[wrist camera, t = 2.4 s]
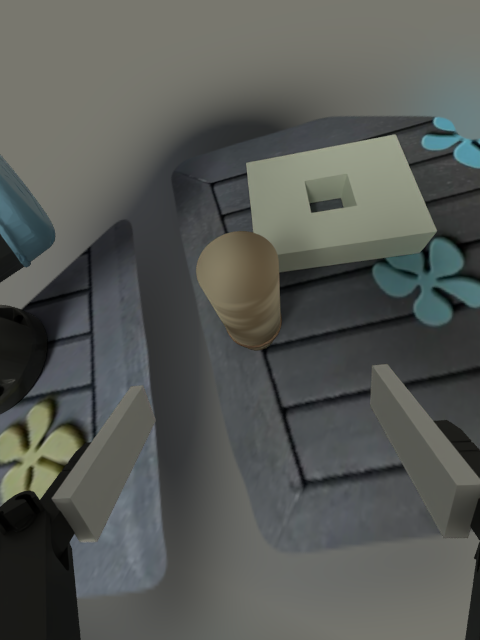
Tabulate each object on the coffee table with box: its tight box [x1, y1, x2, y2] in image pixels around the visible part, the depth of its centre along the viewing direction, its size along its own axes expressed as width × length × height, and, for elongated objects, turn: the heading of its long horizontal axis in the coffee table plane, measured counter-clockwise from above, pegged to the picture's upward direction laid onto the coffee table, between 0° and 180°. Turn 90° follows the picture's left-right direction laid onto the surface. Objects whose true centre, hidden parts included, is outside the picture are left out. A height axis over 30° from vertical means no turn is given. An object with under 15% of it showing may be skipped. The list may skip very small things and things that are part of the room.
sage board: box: [246, 135, 437, 272], centre depth 35 cm, size 20×16×4 cm
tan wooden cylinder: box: [196, 231, 282, 350], centre depth 25 cm, size 6×6×15 cm
